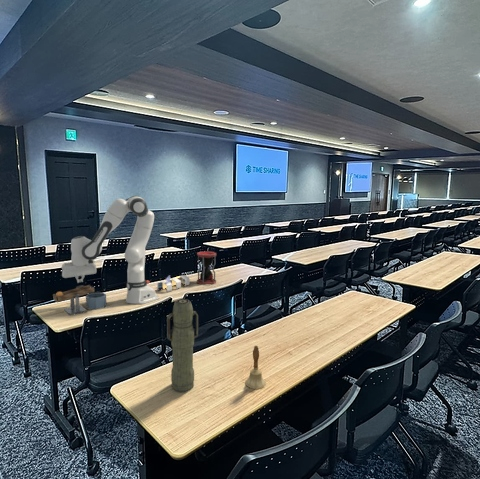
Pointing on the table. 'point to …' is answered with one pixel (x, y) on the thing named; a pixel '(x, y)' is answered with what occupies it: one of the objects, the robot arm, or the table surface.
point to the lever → (71, 293)
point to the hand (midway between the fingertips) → (80, 282)
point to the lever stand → (73, 308)
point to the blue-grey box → (96, 300)
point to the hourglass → (206, 267)
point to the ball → (59, 294)
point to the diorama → (173, 282)
